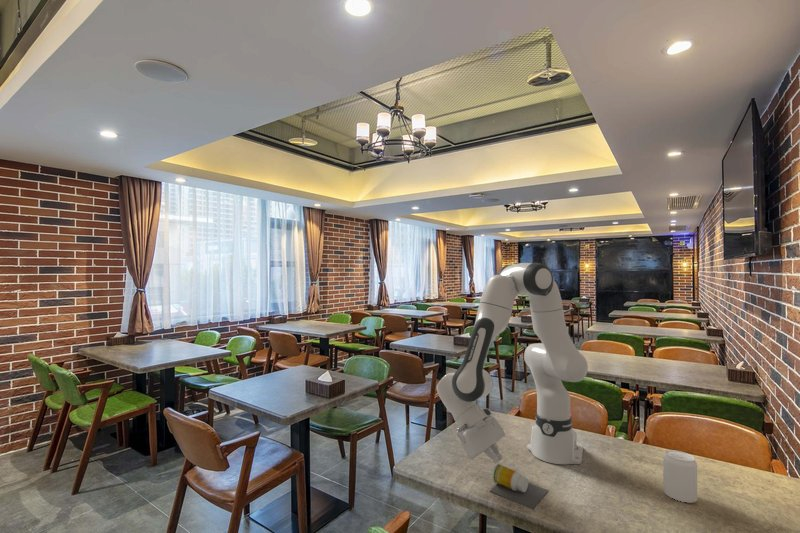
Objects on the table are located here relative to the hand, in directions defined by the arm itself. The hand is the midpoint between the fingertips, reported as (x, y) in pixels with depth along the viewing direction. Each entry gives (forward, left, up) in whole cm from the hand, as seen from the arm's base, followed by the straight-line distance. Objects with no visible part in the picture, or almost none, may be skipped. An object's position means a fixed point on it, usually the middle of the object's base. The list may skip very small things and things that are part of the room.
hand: (499, 461), depth 119 cm
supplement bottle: (0, -1, -4) cm, 4 cm away
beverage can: (-29, +43, -7) cm, 53 cm away
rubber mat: (0, +6, -7) cm, 9 cm away
